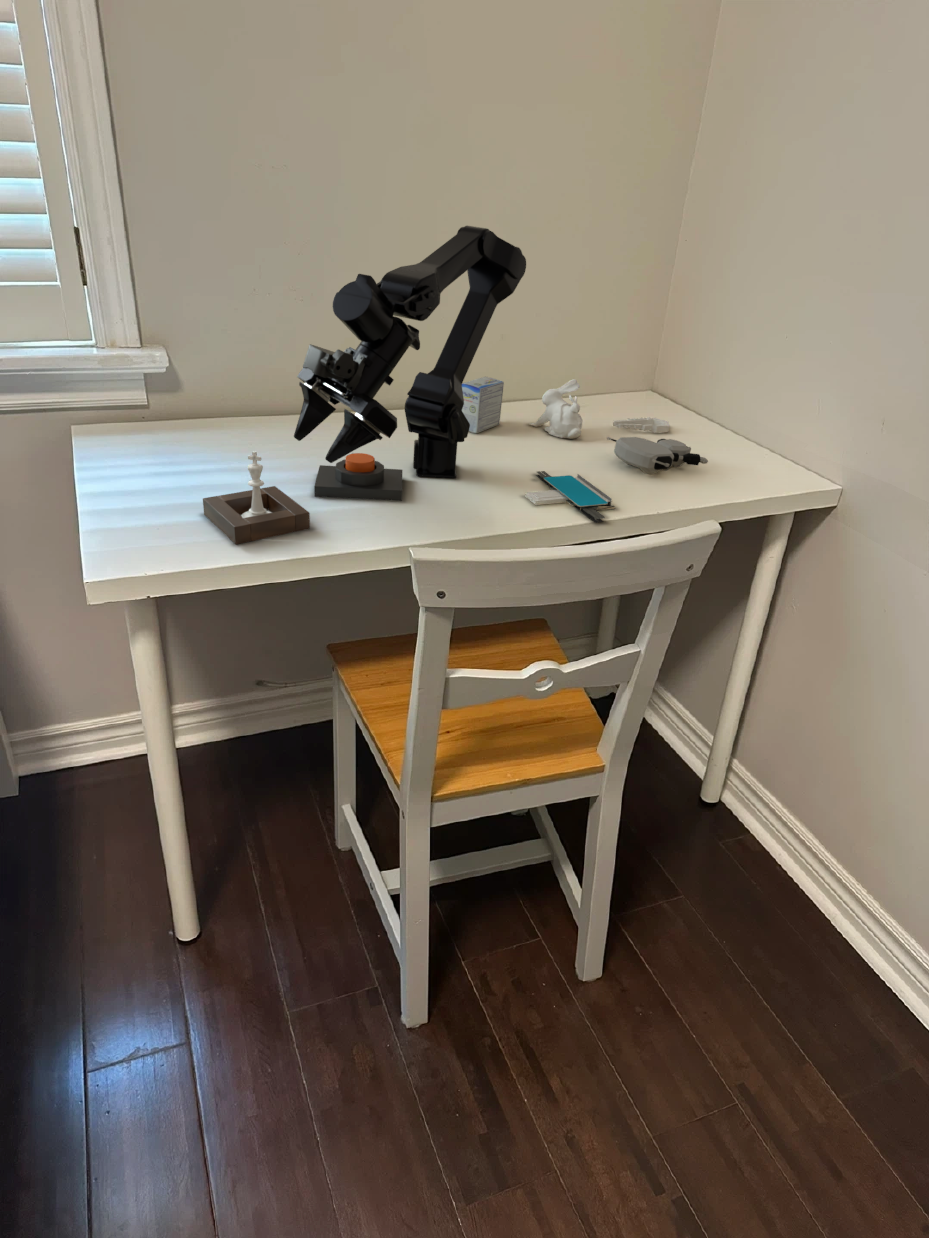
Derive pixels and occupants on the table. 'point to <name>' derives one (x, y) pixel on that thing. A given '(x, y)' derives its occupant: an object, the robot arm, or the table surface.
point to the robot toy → (655, 453)
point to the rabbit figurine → (561, 412)
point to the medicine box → (482, 403)
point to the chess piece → (255, 487)
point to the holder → (242, 530)
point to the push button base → (358, 483)
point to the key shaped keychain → (643, 424)
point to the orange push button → (360, 462)
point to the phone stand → (572, 495)
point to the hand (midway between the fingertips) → (311, 450)
